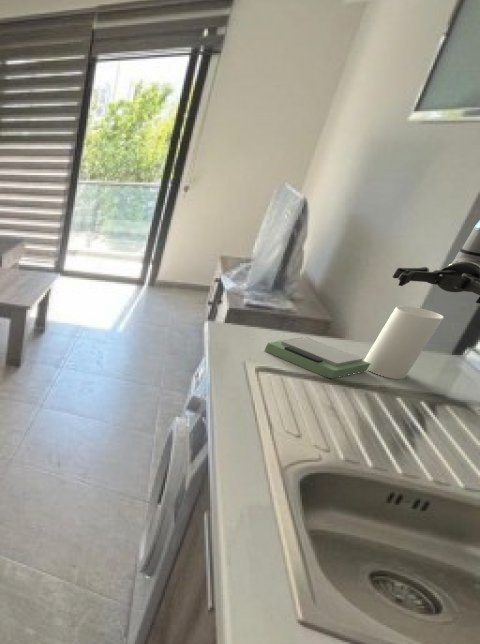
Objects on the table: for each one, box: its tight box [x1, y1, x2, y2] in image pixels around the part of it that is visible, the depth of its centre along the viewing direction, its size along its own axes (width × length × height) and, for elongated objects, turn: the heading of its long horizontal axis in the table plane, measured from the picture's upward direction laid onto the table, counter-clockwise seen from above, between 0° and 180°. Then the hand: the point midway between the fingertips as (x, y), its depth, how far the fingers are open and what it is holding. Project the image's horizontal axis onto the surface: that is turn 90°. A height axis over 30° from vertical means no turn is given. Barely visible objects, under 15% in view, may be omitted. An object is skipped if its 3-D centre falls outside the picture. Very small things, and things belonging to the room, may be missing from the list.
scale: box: [263, 336, 371, 379], centre depth 123 cm, size 16×14×3 cm
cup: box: [363, 305, 445, 380], centre depth 117 cm, size 8×8×16 cm
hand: (440, 288), depth 116 cm, fingers open, 13 cm apart
